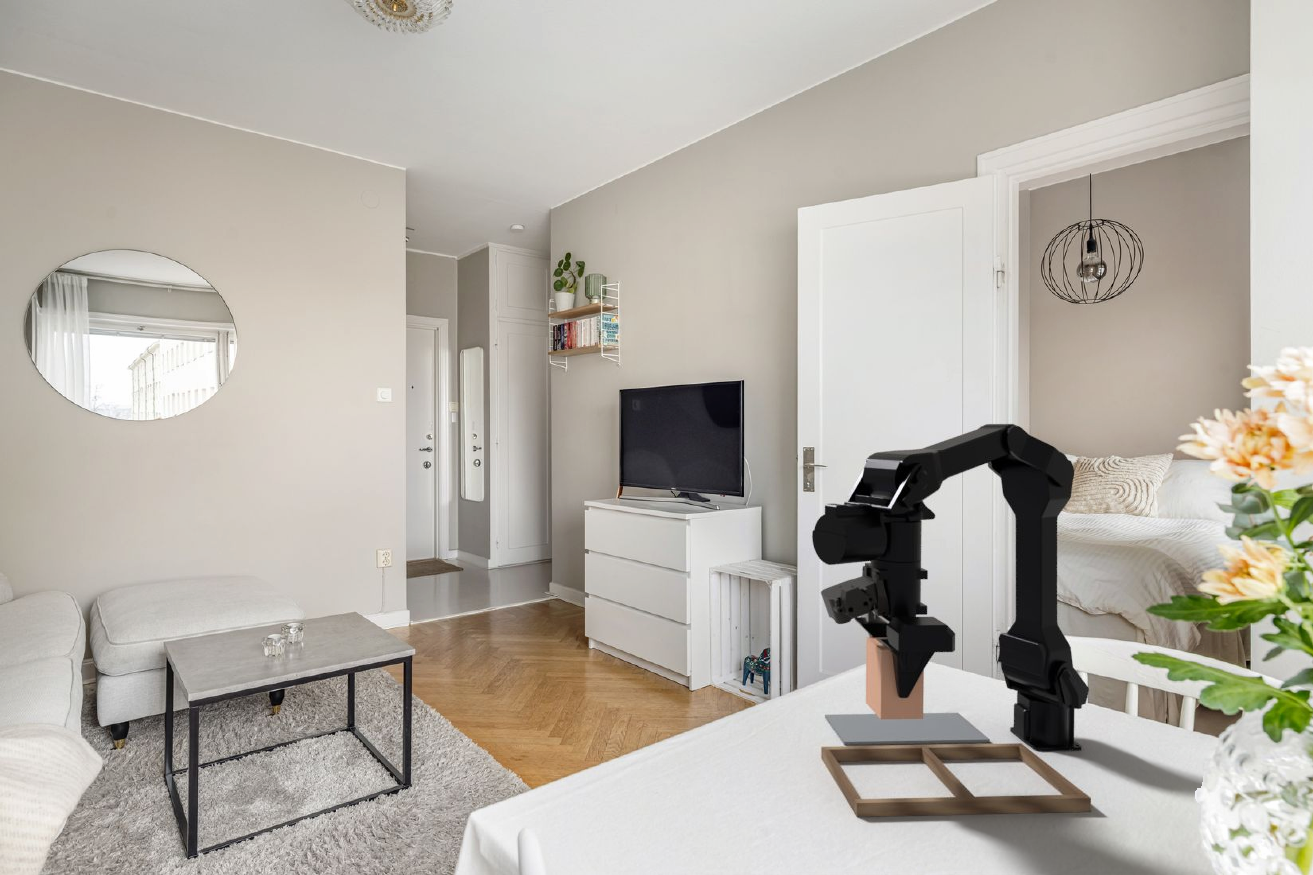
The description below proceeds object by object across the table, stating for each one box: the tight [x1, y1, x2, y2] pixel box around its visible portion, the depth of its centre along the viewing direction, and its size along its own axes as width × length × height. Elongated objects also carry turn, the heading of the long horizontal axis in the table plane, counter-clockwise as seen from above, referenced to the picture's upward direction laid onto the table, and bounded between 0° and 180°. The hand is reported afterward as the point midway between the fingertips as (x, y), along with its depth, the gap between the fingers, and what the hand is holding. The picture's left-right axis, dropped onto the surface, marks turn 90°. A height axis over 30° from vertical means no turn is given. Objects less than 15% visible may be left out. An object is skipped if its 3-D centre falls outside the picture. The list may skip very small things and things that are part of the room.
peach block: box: [865, 636, 925, 719], centre depth 84 cm, size 5×5×8 cm
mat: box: [824, 712, 991, 746], centre depth 99 cm, size 20×9×1 cm, turn 93°
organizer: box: [820, 742, 1092, 818], centre depth 84 cm, size 26×14×2 cm, turn 93°
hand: (894, 688), depth 84 cm, fingers closed on peach block, 5 cm apart
